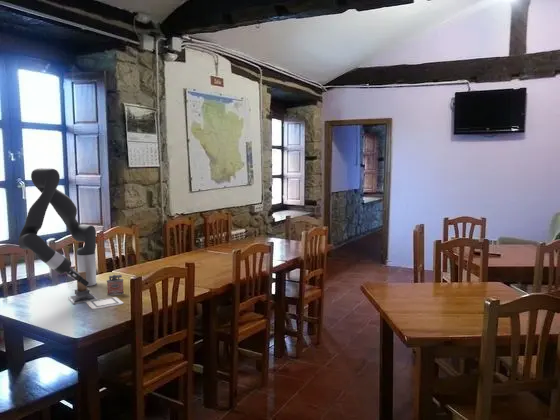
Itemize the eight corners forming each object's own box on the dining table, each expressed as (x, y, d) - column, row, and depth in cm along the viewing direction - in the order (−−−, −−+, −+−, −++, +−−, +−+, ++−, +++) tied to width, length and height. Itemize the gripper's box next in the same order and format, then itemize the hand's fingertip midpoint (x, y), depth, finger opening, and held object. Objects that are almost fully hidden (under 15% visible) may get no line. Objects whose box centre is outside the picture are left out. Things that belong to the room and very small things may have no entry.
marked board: (86, 303, 219) (86, 301, 219) (115, 297, 227) (115, 296, 227) (92, 309, 209) (92, 307, 209) (123, 303, 217) (123, 302, 217)
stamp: (74, 293, 225) (73, 271, 224) (86, 291, 228) (86, 270, 227) (77, 296, 220) (76, 274, 219) (89, 294, 224) (88, 272, 222)
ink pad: (68, 298, 226) (68, 296, 225) (91, 295, 232) (91, 292, 232) (73, 304, 217) (73, 301, 217) (97, 300, 223) (97, 297, 223)
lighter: (107, 295, 231) (106, 276, 230) (107, 293, 234) (106, 274, 233) (123, 294, 233) (122, 275, 232) (124, 292, 237) (123, 273, 235)
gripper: (67, 259, 212) (95, 280, 220) (60, 254, 223) (88, 274, 232) (55, 271, 209) (84, 293, 218) (49, 266, 221) (77, 286, 229)
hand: (86, 283), depth 225 cm, fingers closed on stamp, 4 cm apart
